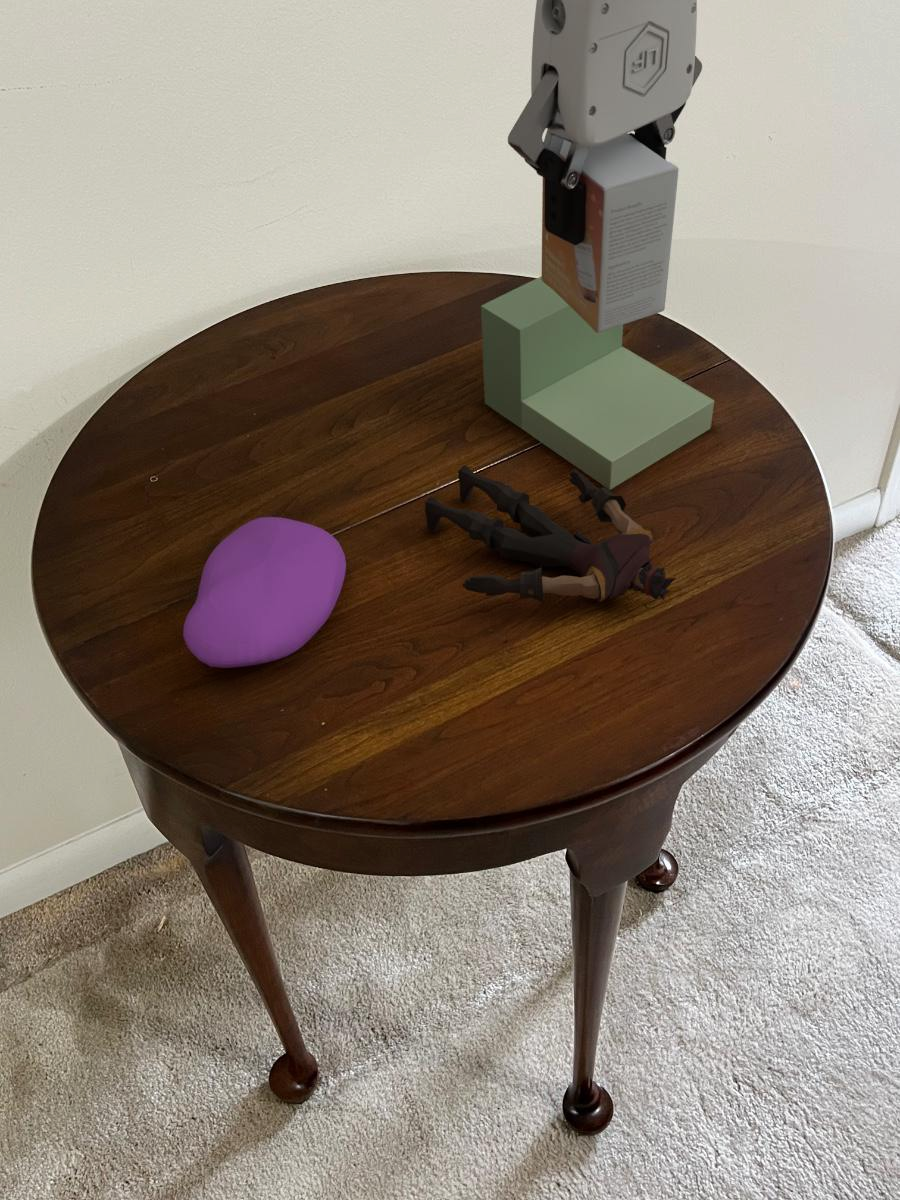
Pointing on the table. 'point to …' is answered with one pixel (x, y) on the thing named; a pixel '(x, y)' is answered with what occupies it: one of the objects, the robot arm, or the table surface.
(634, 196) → the small box
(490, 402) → the green l-shaped step
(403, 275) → the table surface
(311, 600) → the blob
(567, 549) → the figurine
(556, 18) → the robot arm
